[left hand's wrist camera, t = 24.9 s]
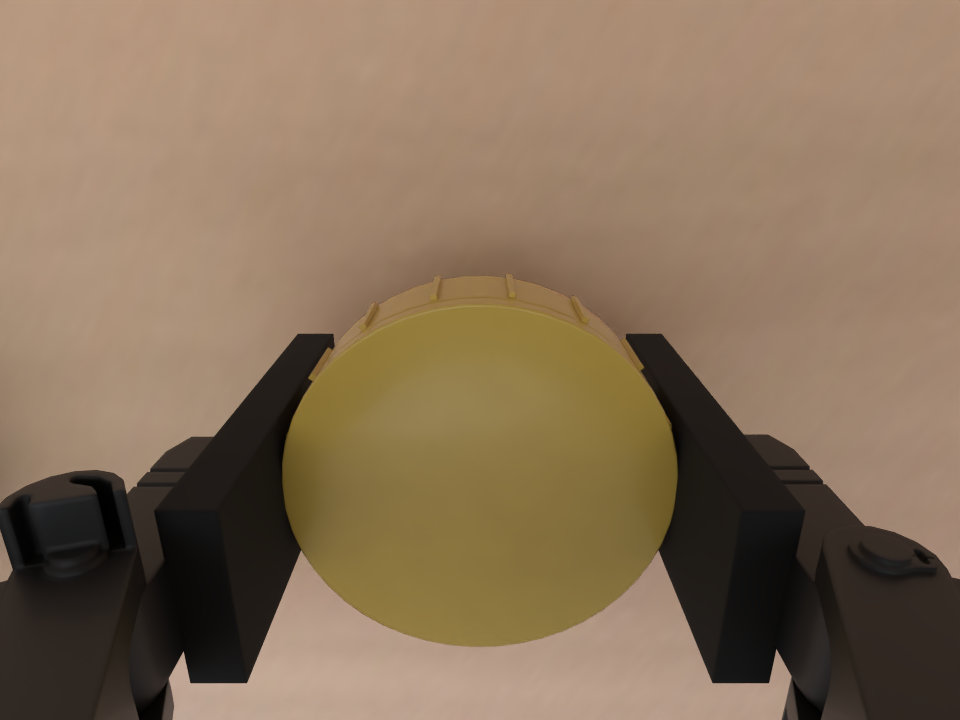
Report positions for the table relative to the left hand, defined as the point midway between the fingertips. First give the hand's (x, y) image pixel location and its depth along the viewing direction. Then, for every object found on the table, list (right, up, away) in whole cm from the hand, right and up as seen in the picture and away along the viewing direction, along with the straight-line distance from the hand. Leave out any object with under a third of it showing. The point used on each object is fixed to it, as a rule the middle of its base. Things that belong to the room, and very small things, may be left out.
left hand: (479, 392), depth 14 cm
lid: (0, -1, -4) cm, 4 cm away
